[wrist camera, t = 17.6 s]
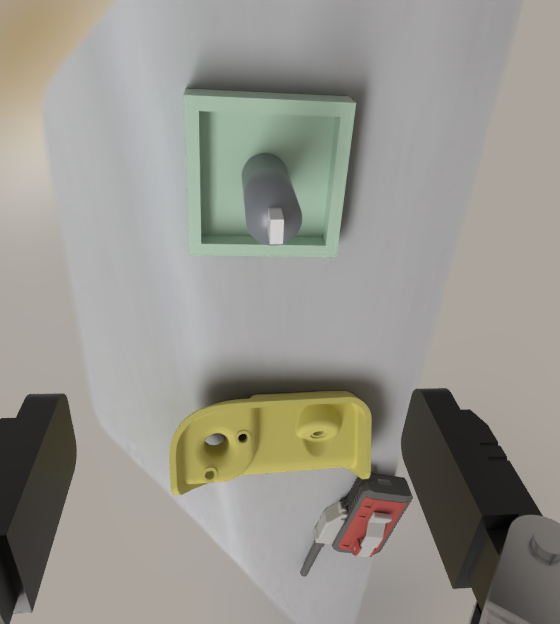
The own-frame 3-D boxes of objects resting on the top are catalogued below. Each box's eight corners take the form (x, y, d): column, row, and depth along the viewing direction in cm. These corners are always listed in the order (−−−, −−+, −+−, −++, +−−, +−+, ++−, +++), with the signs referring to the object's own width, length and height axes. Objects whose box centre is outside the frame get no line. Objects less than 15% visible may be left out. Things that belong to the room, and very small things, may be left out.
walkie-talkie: (345, 460, 61) (293, 564, 71) (353, 491, 57) (297, 596, 67) (413, 469, 63) (354, 569, 73) (426, 500, 59) (361, 601, 69)
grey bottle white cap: (241, 152, 40) (247, 203, 31) (288, 153, 41) (308, 203, 31) (241, 198, 42) (246, 259, 33) (286, 198, 42) (304, 259, 33)
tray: (185, 88, 38) (183, 94, 36) (348, 96, 40) (356, 102, 37) (190, 241, 44) (188, 255, 42) (330, 243, 46) (336, 256, 44)
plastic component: (372, 395, 53) (370, 492, 54) (348, 378, 60) (347, 464, 61) (168, 406, 49) (170, 509, 50) (169, 387, 56) (171, 477, 57)
